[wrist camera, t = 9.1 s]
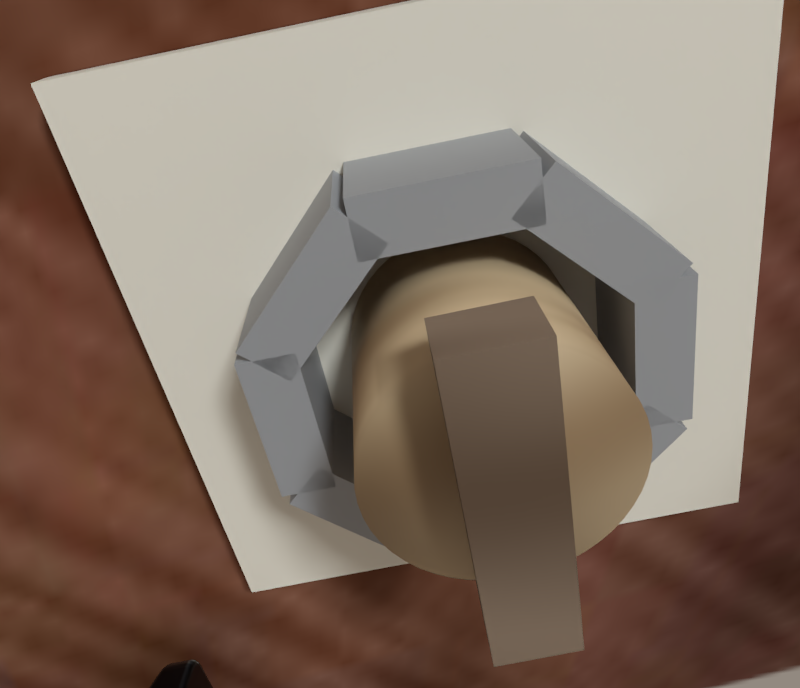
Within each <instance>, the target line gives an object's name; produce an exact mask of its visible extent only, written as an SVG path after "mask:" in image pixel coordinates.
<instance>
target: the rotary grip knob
mask: <svg viewBox="0 0 800 688" xmlns="http://www.w3.org/2000/svg"><path fill="white" fill-rule="evenodd" d="M351 338H352V395H353V452H354V490H355V494H356V499H357V504H358V506H359V509H360V512H361V514H362V517H363V519H364V520H365V522H366V524H367V525H368V527H369V529H370V530H371V532H372V533H373V534H374V535H375V536H376V538H377V539H378V540H379V541H380V542H381V543H382V544H383V545H384V546H385V547H386V548H387V549H389V550H390V551H391V552H392V553H394V554H395V555H397V556H398V557H400V558H401V559H403V560H404V561H406V562H408V563H410V564H412V565H414V566H416V567H418V568H420V569H423V570H426V571H428V572H431V573H434V574H438V575H442V576H446V577H450V578H457V579H465V580H476V583H477V588H478V593H479V598H480V603H481V608H482V613H483V618H484V623H485V627H486V632H487V637H488V641H489V646H490V651H491V655H492V660H493V665H494V667H497V666H502V665H507V664H512V663H518V662H523V661H528V660H534V659H539V658H544V657H550V656H555V655H560V654H566V653H571V652H576V651H582V650H584V641H583V630H582V618H581V607H580V595H579V584H578V573H577V561H576V556H578V555H580V554H582V553H583V552H585V551H587V550H588V549H590V548H591V547H592V546H594V545H595V544H597V543H598V542H600V541H601V540H602V539H603V538H604V537H606V536H607V535H608V534H609V533H610V532H611V531H613V530H614V528H615V527H616V526H617V525H618V524H619V523H620V522H621V521H622V520H623V519H624V518H625V516H626V515H627V514H628V512H629V511H630V510H631V508H632V507H633V506H634V504H635V502H636V501H637V499H638V497H639V495H640V494H641V492H642V490H643V487H644V485H645V482H646V480H647V477H648V474H649V470H650V465H651V461H652V448H653V444H652V433H651V428H650V424H649V420H648V417H647V414H646V412H645V410H644V408H643V406H642V404H641V402H640V400H639V399H638V397H637V396H636V394H635V393H634V391H633V390H632V388H631V387H630V385H629V384H628V382H627V381H626V380H625V378H624V377H623V375H622V374H621V372H620V371H619V369H618V368H617V366H616V365H615V363H614V362H613V360H612V359H611V358H610V356H609V355H608V353H607V352H606V350H605V349H604V347H603V346H602V344H601V343H600V341H599V340H598V338H597V337H596V336H595V334H594V333H593V331H592V330H591V328H590V327H589V325H588V324H587V322H586V321H585V319H584V318H583V316H582V315H581V313H580V312H579V311H578V309H577V308H576V306H575V305H574V303H573V302H572V300H571V299H570V297H569V296H568V294H567V293H566V291H565V290H564V289H563V287H562V286H561V284H560V283H559V281H558V280H557V278H556V277H555V275H554V274H553V273H552V271H551V270H550V268H549V267H548V265H547V264H546V263H545V262H544V261H543V260H542V259H541V258H540V257H539V256H538V255H537V254H535V253H534V252H533V251H531V250H530V249H529V248H528V247H526V246H524V245H522V244H521V243H519V242H517V241H515V240H513V239H510V238H508V237H505V236H502V235H494V236H489V237H484V238H479V239H474V240H469V241H464V242H459V243H454V244H449V245H444V246H439V247H434V248H429V249H424V250H419V251H414V252H409V253H404V254H399V255H394V256H391V257H390V258H389V259H388V260H387V261H386V262H384V263H383V264H382V265H381V266H380V267H379V268H378V269H377V270H376V272H375V273H374V274H373V275H372V277H371V278H370V279H369V281H368V282H367V284H366V286H365V287H364V289H363V291H362V292H361V295H360V297H359V299H358V302H357V304H356V307H355V311H354V315H353V320H352V329H351Z"/></svg>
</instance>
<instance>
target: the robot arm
mask: <svg viewBox="0 0 800 688" xmlns="http://www.w3.org/2000/svg"><path fill="white" fill-rule="evenodd" d="M150 688H213V687H212V685H211V684H210V682H209V680H208V678H207V676H206V674H205V672H204V670H203V669H202V667H201V665H200V664H199V662H197V661H196V660H187V661H182V662H176V663H171V664H169V665H167V666H166V667H164V668H163V669H162V671H161V672H160V673H159V675H158V676H157V677H156V679H155V680H154V682H153V683H152V685H151V686H150Z"/></svg>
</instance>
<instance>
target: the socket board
mask: <svg viewBox="0 0 800 688" xmlns="http://www.w3.org/2000/svg"><path fill="white" fill-rule="evenodd" d="M783 1H784V0H410V1H405V2H401V3H396V4H391V5H386V6H382V7H377V8H372V9H368V10H363V11H358V12H353V13H349V14H344V15H339V16H335V17H330V18H325V19H320V20H316V21H311V22H306V23H301V24H297V25H292V26H287V27H283V28H278V29H273V30H268V31H264V32H259V33H254V34H250V35H245V36H240V37H235V38H231V39H226V40H221V41H216V42H212V43H207V44H202V45H198V46H193V47H188V48H183V49H179V50H174V51H169V52H165V53H160V54H155V55H150V56H146V57H141V58H136V59H131V60H127V61H122V62H117V63H113V64H108V65H103V66H98V67H94V68H89V69H84V70H80V71H75V72H70V73H65V74H61V75H56V76H51V77H47V78H44V79H41V80H39V81H36V82H33V83H31V86H32V88H33V90H34V93H35V95H36V97H37V99H38V102H39V104H40V106H41V109H42V111H43V113H44V116H45V118H46V120H47V122H48V125H49V127H50V129H51V132H52V134H53V136H54V139H55V141H56V143H57V145H58V148H59V150H60V152H61V155H62V157H63V159H64V162H65V164H66V166H67V168H68V171H69V173H70V175H71V178H72V180H73V182H74V185H75V187H76V189H77V191H78V194H79V196H80V198H81V201H82V203H83V205H84V208H85V210H86V212H87V214H88V217H89V219H90V221H91V224H92V226H93V228H94V231H95V233H96V235H97V237H98V240H99V242H100V244H101V247H102V249H103V251H104V254H105V256H106V258H107V260H108V263H109V265H110V267H111V270H112V272H113V274H114V277H115V279H116V281H117V283H118V286H119V288H120V290H121V293H122V295H123V297H124V300H125V302H126V304H127V306H128V309H129V311H130V313H131V316H132V318H133V320H134V323H135V325H136V327H137V329H138V332H139V334H140V336H141V339H142V341H143V343H144V346H145V348H146V350H147V352H148V355H149V357H150V359H151V362H152V364H153V366H154V369H155V371H156V373H157V375H158V378H159V380H160V382H161V385H162V387H163V389H164V392H165V394H166V396H167V398H168V401H169V403H170V405H171V408H172V410H173V412H174V415H175V417H176V419H177V421H178V424H179V426H180V428H181V431H182V433H183V435H184V437H185V440H186V442H187V444H188V447H189V449H190V451H191V454H192V456H193V458H194V460H195V463H196V465H197V467H198V470H199V472H200V474H201V477H202V479H203V481H204V483H205V486H206V488H207V490H208V493H209V495H210V497H211V500H212V502H213V504H214V506H215V509H216V511H217V513H218V516H219V518H220V520H221V523H222V525H223V527H224V529H225V532H226V534H227V536H228V539H229V541H230V543H231V546H232V548H233V550H234V552H235V555H236V557H237V559H238V562H239V564H240V566H241V569H242V571H243V573H244V575H245V578H246V580H247V582H248V585H249V587H250V589H251V592H257V591H262V590H268V589H273V588H278V587H284V586H289V585H294V584H300V583H305V582H311V581H316V580H321V579H327V578H332V577H338V576H343V575H348V574H354V573H359V572H364V571H370V570H375V569H381V568H386V567H391V566H397V565H402V564H408V562H406V561H404V560H403V559H401V558H400V557H398V556H397V555H395V554H394V553H392V552H391V551H390V550H389V549H387V548H386V547H385V546H384V545H383V544H382V543H381V542H380V541H379V540H378V539H377V538H376V536H375V535H374V534H373V533H372V532H371V530H370V529H369V527H368V525H367V524H366V522H365V520H364V519H363V517H362V514H361V512H360V509H359V506H358V504H357V499H356V494H355V490H354V452H353V395H352V338H351V329H352V320H353V315H354V311H355V307H356V304H357V302H358V299H359V297H360V295H361V292H362V291H363V289H364V287H365V286H366V284H367V282H368V281H369V279H370V278H371V277H372V275H373V274H374V273H375V272H376V270H377V269H378V268H379V267H380V266H381V265H382V264H383V263H384V262H386V261H387V260H388V259H389V258H390V257H391V256H394V255H399V254H404V253H409V252H414V251H419V250H424V249H429V248H434V247H439V246H444V245H449V244H454V243H459V242H464V241H469V240H474V239H479V238H484V237H489V236H494V235H502V236H505V237H508V238H510V239H513V240H515V241H517V242H519V243H521V244H522V245H524V246H526V247H528V248H529V249H530V250H531V251H533V252H534V253H535V254H537V255H538V256H539V257H540V258H541V259H542V260H543V261H544V262H545V263H546V264H547V265H548V267H549V268H550V270H551V271H552V273H553V274H554V275H555V277H556V278H557V280H558V281H559V283H560V284H561V286H562V287H563V289H564V290H565V291H566V293H567V294H568V296H569V297H570V299H571V300H572V302H573V303H574V305H575V306H576V308H577V309H578V311H579V312H580V313H581V315H582V316H583V318H584V319H585V321H586V322H587V324H588V325H589V327H590V328H591V330H592V331H593V333H594V334H595V336H596V337H597V338H598V340H599V341H600V343H601V344H602V346H603V347H604V349H605V350H606V352H607V353H608V355H609V356H610V358H611V359H612V360H613V362H614V363H615V365H616V366H617V368H618V369H619V371H620V372H621V374H622V375H623V377H624V378H625V380H626V381H627V382H628V384H629V385H630V387H631V388H632V390H633V391H634V393H635V394H636V396H637V397H638V399H639V400H640V402H641V404H642V406H643V408H644V410H645V412H646V414H647V417H648V420H649V424H650V428H651V433H652V444H653V448H652V461H651V465H650V470H649V474H648V477H647V480H646V482H645V485H644V487H643V490H642V492H641V494H640V495H639V497H638V499H637V501H636V502H635V504H634V506H633V507H632V508H631V510H630V511H629V512H628V514H627V515H626V516H625V518H624V519H623V520H622V521H621V522H620V523H619V524H623V523H628V522H634V521H639V520H644V519H650V518H655V517H661V516H666V515H671V514H677V513H682V512H687V511H693V510H698V509H704V508H709V507H714V506H720V505H725V504H731V503H736V502H738V500H739V489H740V478H741V467H742V456H743V445H744V434H745V423H746V412H747V401H748V390H749V378H750V367H751V356H752V345H753V334H754V323H755V312H756V301H757V290H758V279H759V268H760V256H761V245H762V234H763V223H764V212H765V201H766V190H767V179H768V168H769V157H770V146H771V135H772V123H773V112H774V101H775V90H776V79H777V68H778V57H779V46H780V35H781V24H782V13H783Z"/></svg>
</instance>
